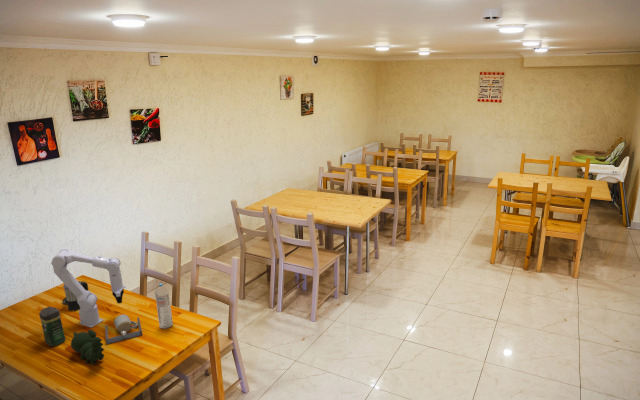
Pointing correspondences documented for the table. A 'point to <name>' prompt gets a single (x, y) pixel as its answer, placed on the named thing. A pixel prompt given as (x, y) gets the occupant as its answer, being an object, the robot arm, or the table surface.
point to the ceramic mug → (124, 323)
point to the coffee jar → (52, 326)
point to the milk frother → (72, 297)
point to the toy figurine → (88, 346)
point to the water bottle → (163, 307)
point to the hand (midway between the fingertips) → (119, 302)
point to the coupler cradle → (123, 334)
